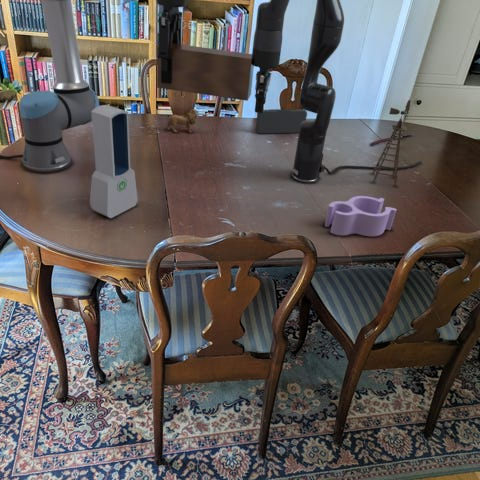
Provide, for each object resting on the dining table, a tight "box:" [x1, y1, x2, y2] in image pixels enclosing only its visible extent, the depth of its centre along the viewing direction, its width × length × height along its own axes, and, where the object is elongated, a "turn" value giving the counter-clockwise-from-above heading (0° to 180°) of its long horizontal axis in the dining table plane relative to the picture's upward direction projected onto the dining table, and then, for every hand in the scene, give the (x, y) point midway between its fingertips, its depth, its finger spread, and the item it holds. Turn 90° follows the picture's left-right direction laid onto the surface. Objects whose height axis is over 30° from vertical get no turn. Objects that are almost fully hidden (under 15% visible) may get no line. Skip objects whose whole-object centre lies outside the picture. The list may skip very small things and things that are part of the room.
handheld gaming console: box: [255, 108, 308, 134], centre depth 205 cm, size 23×3×10 cm, turn 108°
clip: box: [324, 195, 398, 237], centre depth 141 cm, size 20×12×7 cm, turn 109°
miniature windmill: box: [371, 99, 411, 187], centre depth 166 cm, size 9×8×30 cm
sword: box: [370, 134, 411, 146], centre depth 212 cm, size 31×3×1 cm, turn 126°
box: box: [156, 43, 255, 102], centre depth 129 cm, size 26×6×11 cm, turn 80°
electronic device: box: [89, 104, 139, 219], centre depth 131 cm, size 12×8×30 cm, turn 148°
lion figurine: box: [163, 108, 200, 133], centre depth 195 cm, size 15×5×9 cm, turn 110°
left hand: (169, 79), depth 132 cm, fingers closed on box, 6 cm apart
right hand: (260, 107), depth 132 cm, fingers open, 8 cm apart
